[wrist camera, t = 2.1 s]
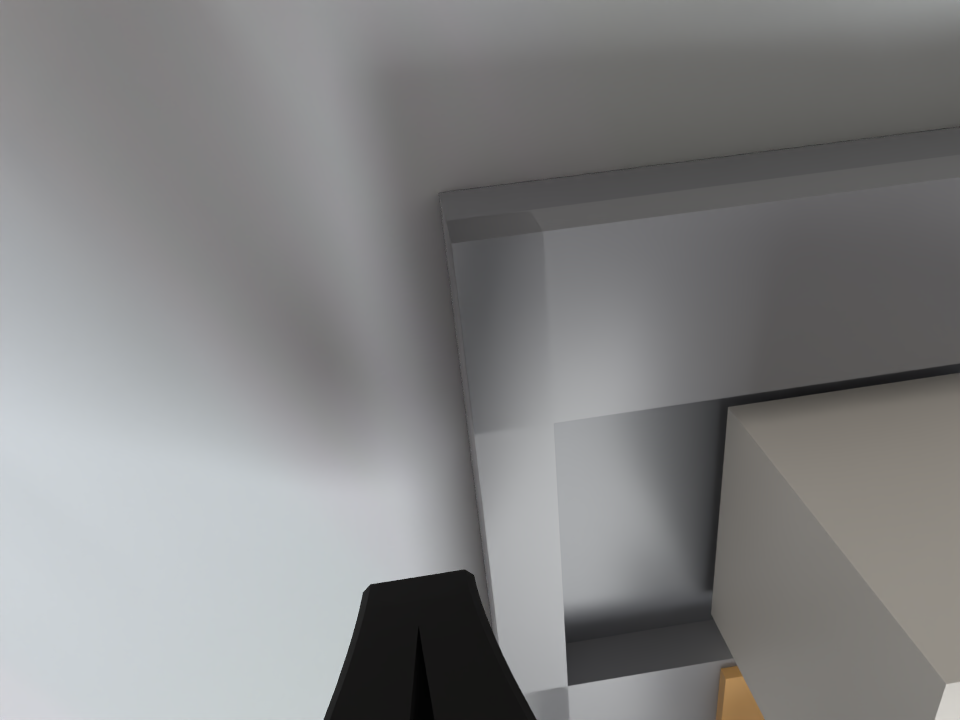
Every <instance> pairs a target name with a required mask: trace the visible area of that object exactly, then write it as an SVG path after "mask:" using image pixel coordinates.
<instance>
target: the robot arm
mask: <svg viewBox="0 0 960 720" xmlns="http://www.w3.org/2000/svg"><path fill="white" fill-rule="evenodd" d="M324 720H537V719H536V717H535V715H534V714H533V712H532V710H531V708H530V706H529V704H528V702H527V701H526V699H525V697H524V695H523V693H522V691H521V689H520V688H519V686H518V684H517V682H516V680H515V678H514V676H513V674H512V672H511V670H510V668H509V666H508V664H507V662H506V660H505V658H504V656H503V654H502V651H501V649H500V647H499V645H498V642H497V640H496V638H495V636H494V634H493V631H492V629H491V626H490V624H489V621H488V619H487V616H486V614H485V611H484V608H483V606H482V603H481V599H480V596H479V593H478V590H477V586H476V582H475V577H474V575H473V574H471V573H470V572H468V571H466V570H459V571H453V572H446V573H440V574H434V575H427V576H421V577H415V578H408V579H402V580H396V581H389V582H383V583H377V584H370V586H369V587H368V588H367V589H366V590H365V591H364V592H363V595H362V600H361V605H360V609H359V613H358V617H357V621H356V625H355V629H354V632H353V636H352V639H351V642H350V646H349V649H348V652H347V655H346V658H345V661H344V664H343V667H342V670H341V673H340V676H339V679H338V682H337V685H336V688H335V691H334V693H333V696H332V699H331V701H330V704H329V707H328V709H327V712H326V715H325V717H324Z"/></svg>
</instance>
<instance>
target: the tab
mask: <svg viewBox="0 0 960 720" xmlns="http://www.w3.org/2000/svg"><path fill="white" fill-rule="evenodd" d="M711 615H712V617H713V619H714V621H715V623H716V625H717V627H718V629H719V631H720V633H721V635H722V637H723V639H724V640H725V642H726V644H727V646H728V648H729V650H730V652H731V654H732V656H733V658H734V660H735V662H736V664H737V666H738V668H739V670H740V672H741V674H742V676H743V678H744V680H745V682H746V684H747V686H748V688H749V690H750V691H751V693H752V695H753V697H754V699H755V701H756V703H757V705H758V707H759V709H760V711H761V713H762V715H763V717H764V719H765V720H960V373H954V374H948V375H941V376H934V377H927V378H921V379H914V380H907V381H900V382H894V383H887V384H880V385H873V386H867V387H860V388H853V389H846V390H839V391H833V392H826V393H819V394H812V395H806V396H799V397H792V398H785V399H779V400H772V401H765V402H758V403H751V404H745V405H738V406H731V407H728V414H727V426H726V439H725V451H724V463H723V475H722V487H721V499H720V511H719V523H718V535H717V547H716V560H715V572H714V584H713V596H712V608H711Z"/></svg>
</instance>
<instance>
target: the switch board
mask: <svg viewBox="0 0 960 720" xmlns="http://www.w3.org/2000/svg"><path fill="white" fill-rule="evenodd" d="M439 200H440V208H441V216H442V224H443V232H444V241H445V249H446V257H447V265H448V273H449V281H450V289H451V297H452V306H453V314H454V322H455V330H456V338H457V346H458V354H459V362H460V371H461V379H462V387H463V395H464V403H465V411H466V419H467V427H468V436H469V444H470V452H471V460H472V468H473V476H474V484H475V492H476V501H477V509H478V517H479V525H480V533H481V541H482V549H483V557H484V566H485V574H486V582H487V590H488V598H489V606H490V614H491V622H492V631H493V634H494V636H495V638H496V640H497V642H498V645H499V647H500V649H501V651H502V654H503V656H504V658H505V660H506V662H507V664H508V666H509V668H510V670H511V672H512V674H513V676H514V678H515V680H516V682H517V684H518V686H519V688H520V689H521V691H522V693H523V695H524V697H525V699H526V701H527V702H528V704H529V706H530V708H531V710H532V712H533V714H534V715H535V717H536V719H537V720H765V719H764V717H763V715H762V713H761V711H760V709H759V707H758V705H757V703H756V701H755V699H754V697H753V695H752V693H751V691H750V690H749V688H748V686H747V684H746V682H745V680H744V678H743V676H742V674H741V672H740V670H739V668H738V666H737V664H736V662H735V660H734V658H733V656H732V654H731V652H730V650H729V648H728V646H727V644H726V642H725V640H724V639H723V637H722V635H721V633H720V631H719V629H718V627H717V625H716V623H715V621H714V619H713V617H712V615H711V608H712V596H713V584H714V572H715V560H716V547H717V535H718V523H719V511H720V499H721V487H722V475H723V463H724V451H725V439H726V426H727V414H728V407H731V406H738V405H745V404H751V403H758V402H765V401H772V400H779V399H785V398H792V397H799V396H806V395H812V394H819V393H826V392H833V391H839V390H846V389H853V388H860V387H867V386H873V385H880V384H887V383H894V382H900V381H907V380H914V379H921V378H927V377H934V376H941V375H948V374H954V373H960V127H956V128H948V129H940V130H932V131H924V132H916V133H908V134H901V135H893V136H885V137H877V138H869V139H861V140H853V141H845V142H837V143H829V144H822V145H814V146H806V147H798V148H790V149H782V150H774V151H766V152H758V153H751V154H743V155H735V156H727V157H719V158H711V159H703V160H695V161H687V162H679V163H672V164H664V165H656V166H648V167H640V168H632V169H624V170H616V171H608V172H601V173H593V174H585V175H577V176H569V177H561V178H553V179H545V180H537V181H530V182H522V183H514V184H506V185H498V186H490V187H482V188H474V189H466V190H458V191H451V192H443V193H439Z"/></svg>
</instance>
